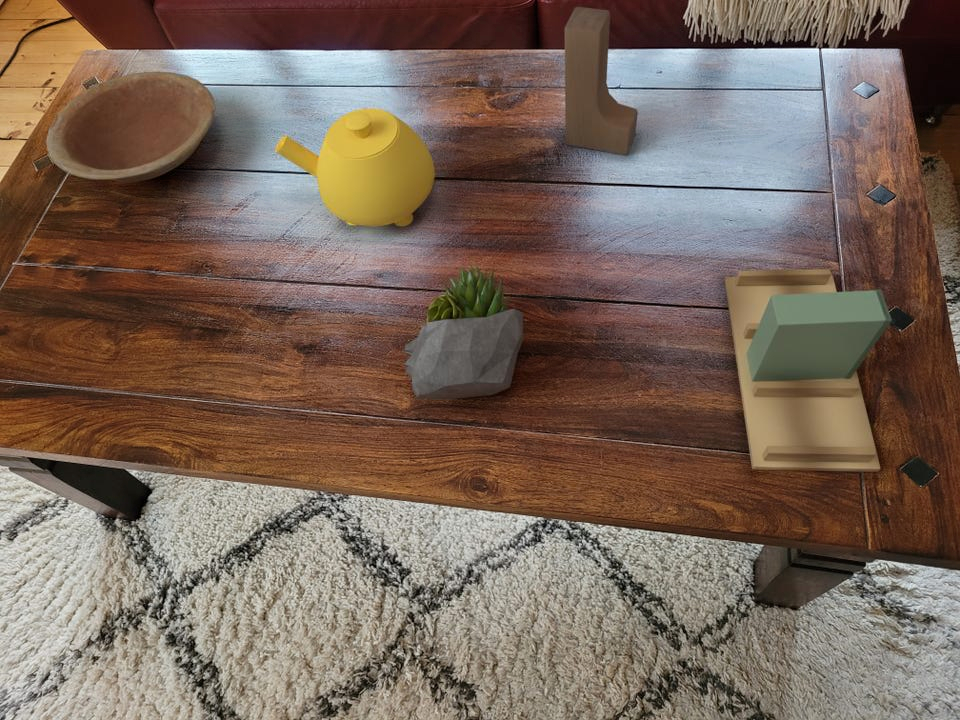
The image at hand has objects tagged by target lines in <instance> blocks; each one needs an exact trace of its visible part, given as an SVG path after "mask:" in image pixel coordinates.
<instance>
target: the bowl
mask: <svg viewBox="0 0 960 720" xmlns="http://www.w3.org/2000/svg"><path fill="white" fill-rule="evenodd" d="M215 112H216V103H215V99H214V97H213V95H212V93H211V91H210V90H209V89H208V88H207V87H206V86H205V85H204V83H202V82H200V81H199V80H198V79H196V78H193V77H191V76H189V75H185V74H180V73H176V72H172V71H171V72H170V71H143V72H135V73H130V74H125V75H121V76H118V77H114V78H111V79H107V80H105V81H101V82H97V83H95V84H94V85H92V86H91V87H89V88H87V89H86V90H85V91H83V92H82V93H80V94H78V95H76V96H75V97H74V98H73V99H72V100H70V101H69V102H68V103H67V104H66V105H65V106H64V107H63V108H62V109H61V110H60V111H59V112H58V114H57V115H56V116H55V117H54V119H53V121H52V123H51V124H50V127H49V129H48V131H47V135H46V150H47V153H48V156H49V157H50V159H51V161H52V162H53V163H54V164H55V165H56V166H57V167H58V168H59V169H61V170H62V171H64V172H65V173H68V174H70V175H72V176H75V177H79V178H82V179H88V180H96V181H107V180H111V181H116V182H123V183H138V182H144V181H148V180H152V179H155V178H157V177H160V176H163V175H165V174H167V173H168V172H170V171H172V170H174V169H176V168H177V167H178V166H180V165H182V164H183V163H184V162H185V161H187V160H188V159H189V158H190V156H192V154H193V153H194V152H196V150H197V148H198V147H199V144H200V143H201V141H202V140H203V139H204V137H205V136H206V135H207V133H208V131H209V129H210V127H211V125H212V123H213V120H214V117H215Z"/></svg>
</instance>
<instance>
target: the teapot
mask: <svg viewBox="0 0 960 720" xmlns="http://www.w3.org/2000/svg"><path fill="white" fill-rule="evenodd" d="M274 151H275V153H277V154H279V155H280V156H281V157H283V158H284V159H286V160H288V161H289V162H291V163H292V164H294V165H295V166H297V167H298V168H300V169H302V170H304V171H305V172H307V173H308V174H310V175H312V176H313V177H314V178H316V181H317V188H318V192H319V195H320V198H321V200H322V202H323V204H324V206H325V207H326V209H327V210H328V211H329V212H330V214H332V215H334V216H335V217H336V218H338V219H340V220H342V221H344V222H345V223H346V224H347V225H349V226H352V227H353V226H361V227H362V226H363V227H381V226H387V225H391V224H394V225H395V226H397V227H406V226H408V225H410V224H411V223H412V222H413V220H414V215H413V213H415V211H416V210H418V208H419V207H421V205H422V204H423V203H424V202H425V201H426V199H427V198H428V196H429V195H430V193H431V192H432V191H431V190H432V188H433V185H434V182H435V177H436V176H435V175H436V172H435V171H436V169H435V164H434V161H433V157H432V155H431V152H430V151H429V149H428V147H427V145H426V143H425V142H424V141H423V139H422V138H421V136H420V135H419V134H418V133H417V132H416V131H415V130H414V129H413V128H412V127H411V126H409V125H408V124H407V123H405V122H404V121H403V120H402V119H400V118H399V117H397V116H396V115H394V114H392V113H391V112H388V111H387V110H384V109H381V108H370V107H367V108H359V109H355V110H352V111H350V112H347V113H346V114H343V115H342V116H340V117H338V119H336V120H335V121H334V122H333V123H332V124H331V125H330V127H329V128H328V130H327V132H326V134H325V136H324V138H323V140H322V144H321V147H320V151H319V154H316V153H314V152H313V151H311V150H310V149H308V148H307V147H305V146H304V145H303V144H301V143H299V142H298V141H296V140H294V139H293V138H291V137H290V136H288V135H287V134H285V135H283V136H282V137H281V138H280V139H279V141H278V143H277V144H276V147H275V150H274Z"/></svg>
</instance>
